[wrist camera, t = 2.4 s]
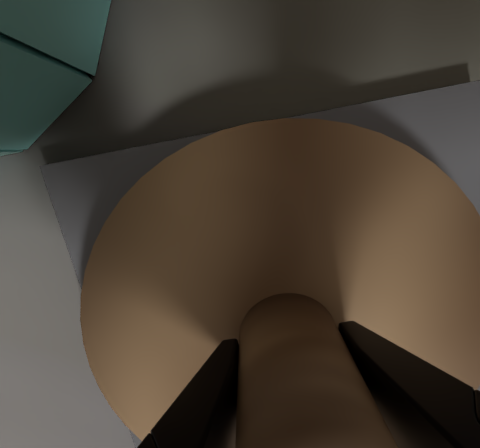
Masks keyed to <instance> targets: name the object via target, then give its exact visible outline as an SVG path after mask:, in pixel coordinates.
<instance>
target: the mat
mask: <svg viewBox="0 0 480 448" xmlns="http://www.w3.org/2000/svg"><path fill="white" fill-rule="evenodd" d="M288 118H305V119H323V120H329V121H336V122H342V123H349V124H353V125H356V126H359V127H362V128H366V129H369V130H372V131H376V132H379V133H382V134H384V135H386V136H388V137H390V138H392V139H394V140H396V141H399V142H401V143H403V144H405V145H407V146H409V147H411V148H412V149H414V150H415V151H417V152H418V153H420V154H421V155H423V156H424V157H426V158H427V159H429V160H430V161H432V162H433V163H434V164H436V165H437V166H438V167H439V168H440V169H441V170H442V171H443V172H444V173H445V174H447V175H448V176H449V177H450V178H451V179H452V180H453V181H454V182H455V183H456V184H457V185H458V186H459V188H460V189H461V190H462V191H463V193H464V194H465V195H466V196H467V198H468V199H469V200H470V201H471V203H472V204H473V205H474V207H475V208H476V210H477V212H478V214H479V215H480V80H478V81H473V82H468V83H463V84H458V85H453V86H448V87H442V88H437V89H432V90H427V91H422V92H417V93H412V94H406V95H401V96H396V97H391V98H386V99H381V100H376V101H370V102H365V103H360V104H355V105H350V106H345V107H340V108H334V109H329V110H324V111H319V112H314V113H309V114H304V115H299V116H293V117H288ZM216 132H219V131H216ZM216 132H211V133H206V134H201V135H196V136H191V137H185V138H180V139H175V140H170V141H165V142H160V143H155V144H149V145H144V146H139V147H134V148H129V149H124V150H119V151H114V152H108V153H103V154H98V155H93V156H88V157H83V158H78V159H72V160H67V161H62V162H57V163H52V164H47V165H42V166H40V169H41V172H42V175H43V178H44V181H45V184H46V187H47V190H48V193H49V196H50V199H51V202H52V204H53V207H54V210H55V213H56V216H57V219H58V222H59V225H60V228H61V231H62V234H63V237H64V240H65V243H66V245H67V248H68V251H69V254H70V257H71V260H72V263H73V266H74V269H75V272H76V275H77V278H78V281H79V284H80V287H81V289H82V286H83V280H84V274H85V269H86V266H87V263H88V260H89V257H90V254H91V251H92V248H93V245H94V243H95V241H96V239H97V237H98V235H99V233H100V231H101V229H102V227H103V225H104V223H105V221H106V220H107V218H108V217H109V215H110V214H111V213H112V211H113V210H114V208H115V207H116V205H117V204H118V203H119V201H120V200H121V198H122V197H123V196H124V195H125V194H126V193H127V192H128V191H129V190H130V189H131V188H132V187H133V186H134V185H135V183H136V182H137V181H138V180H139V179H140V178H141V177H142V176H144V175H145V174H146V173H147V172H149V171H150V170H151V169H152V168H154V167H155V166H156V165H157V164H159V163H160V162H161V161H162V160H164V159H165V158H167V157H168V156H170V155H172V154H173V153H175V152H177V151H179V150H180V149H182V148H184V147H185V146H187V145H189V144H190V143H192V142H195V141H197V140H199V139H202V138H204V137H207V136H209V135H211V134H214V133H216ZM477 390H479V391H480V386H479V387H478V389H477ZM129 430H130V429H129ZM130 433H131V436H132V439H133V442H134V445H135V448H137V447H138V446H139V444H140V443H141V442H142V441H141V440H140V439H139V438H138V437H137V436H136V435H135V434H134V433H133V432H132V431H131V430H130Z"/></svg>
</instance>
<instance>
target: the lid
mask: <svg viewBox="0 0 480 448" xmlns="http://www.w3.org/2000/svg"><path fill="white" fill-rule="evenodd" d="M80 321H81V328H82V336H83V343H84V347H85V351H86V354H87V358H88V362H89V365H90V368H91V370H92V372H93V375H94V377H95V379H96V382H97V384H98V386H99V388H100V390H101V391H102V393H103V395H104V396H105V398H106V400H107V401H108V403H109V405H110V406H111V408H112V409H113V410H114V412H115V413H116V414H117V415H118V417H119V418H120V419H121V420H122V422H123V423H124V424H125V425H126V426H127V427H128V428H129V429H130V430H131V431H132V432H133V433H134V434H135V435H136V436H137V437H138V438H139V439H140V440H141V441H143V439H144V438H145V437H146V436H147V434H148V433H151V429H152V428H153V427H154V426H155V424H156V423H157V422H158V421H159V419H160V418H161V417H162V416H163V414H164V413H165V412H166V411H167V409H168V408H169V407H170V406H171V404H172V403H173V402H174V401H175V399H176V398H177V397H178V395H179V394H180V393H181V392H182V390H183V389H184V388H185V387H186V385H187V384H188V383H189V382H190V380H191V379H192V378H193V377H194V375H195V374H196V373H197V372H198V370H199V369H200V368H201V367H202V365H203V364H204V363H205V362H206V360H207V359H208V358H209V357H210V355H211V354H212V353H213V351H214V350H215V349H216V348H217V346H218V345H219V344H220V343H221V341H223V340H226V339H233V338H236V339H237V340H238V344H239V355H238V384H237V413H236V441H235V448H398V446H397V444H396V442H395V440H394V438H393V436H392V434H391V432H390V430H389V428H388V426H387V424H386V422H385V420H384V418H383V416H382V414H381V412H380V410H379V408H378V407H377V405H376V403H375V401H374V399H373V397H372V395H371V393H370V391H369V389H368V387H367V385H366V383H365V381H364V379H363V377H362V375H361V373H360V371H359V369H358V367H357V365H356V363H355V361H354V359H353V357H352V355H351V353H350V351H349V349H348V347H347V345H346V343H345V341H344V339H343V337H342V336H341V334H340V332H339V330H338V324H339V323H340V322H345V321H355V322H357V323H359V324H360V325H362V326H364V327H366V328H368V329H369V330H371V331H373V332H375V333H377V334H378V335H380V336H382V337H384V338H386V339H387V340H389V341H391V342H393V343H394V344H396V345H398V346H400V347H402V348H403V349H405V350H407V351H409V352H411V353H412V354H414V355H416V356H418V357H419V358H421V359H423V360H425V361H427V362H428V363H430V364H432V365H434V366H436V367H437V368H439V369H441V370H443V371H445V372H446V373H448V374H450V375H452V376H453V377H455V378H457V379H459V380H461V381H462V382H464V383H466V384H468V385H470V386H471V387H473V388H474V390H477V389H478V387H479V386H480V215H479V214H478V212H477V210H476V208H475V207H474V205H473V204H472V203H471V201H470V200H469V199H468V198H467V196H466V195H465V194H464V193H463V191H462V190H461V189H460V188H459V186H458V185H457V184H456V183H455V182H454V181H453V180H452V179H451V178H450V177H449V176H448V175H447V174H445V173H444V172H443V171H442V170H441V169H440V168H439V167H438V166H437V165H436V164H434V163H433V162H432V161H430V160H429V159H427V158H426V157H424V156H423V155H421V154H420V153H418V152H417V151H415V150H414V149H412V148H411V147H409V146H407V145H405V144H403V143H401V142H399V141H396V140H394V139H392V138H390V137H388V136H386V135H384V134H382V133H379V132H376V131H372V130H369V129H366V128H362V127H359V126H356V125H353V124H349V123H342V122H336V121H329V120H323V119H305V118H282V119H274V120H266V121H258V122H251V123H247V124H244V125H240V126H236V127H232V128H229V129H225V130H221V131H219V132H216V133H214V134H211V135H209V136H207V137H204V138H202V139H199V140H197V141H195V142H192V143H190V144H189V145H187V146H185V147H184V148H182V149H180V150H179V151H177V152H175V153H173V154H172V155H170V156H168V157H167V158H165V159H164V160H162V161H161V162H160V163H159V164H157V165H156V166H155V167H154V168H152V169H151V170H150V171H149V172H147V173H146V174H145V175H144V176H142V177H141V178H140V179H139V180H138V181H137V182H136V183H135V185H134V186H133V187H132V188H131V189H130V190H129V191H128V192H127V193H126V194H125V195H124V196H123V197H122V198H121V200H120V201H119V203H118V204H117V205H116V207H115V208H114V210H113V211H112V213H111V214H110V215H109V217H108V218H107V220H106V221H105V223H104V225H103V227H102V229H101V231H100V233H99V235H98V237H97V239H96V241H95V243H94V245H93V248H92V251H91V254H90V257H89V260H88V263H87V266H86V269H85V274H84V280H83V286H82V292H81V317H80Z"/></svg>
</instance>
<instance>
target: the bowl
mask: <svg viewBox="0 0 480 448" xmlns="http://www.w3.org/2000/svg"><path fill="white" fill-rule="evenodd" d="M110 4H111V0H0V156H3V155H9V154H14V153H19V152H23V150H22V149H28V148H29V147H30V146H31V145H32V144H33V143H34V142H35V141H36V140H37V139H38V137H39V136H40V135H41V134H42V133H43V132H44V131H45V130H46V129H47V128H48V127H49V126H50V125H51V124H52V123H53V122H54V121H55V120H56V119H57V118H58V117H59V115H60V114H61V113H62V112H63V111H64V110H65V109H66V108H67V107H68V106H69V105H70V104H71V103H72V102H73V101H74V100H75V99H76V98H77V97H78V96H79V95H80V93H81V92H82V91H83V90H84V89H85V88H86V87H87V86H88V85H89V84H90V83H91V82H92V80H91V78H90V77H89V76H88V75H87V74H86V73H88V74H91V75H93V76H95V74H96V69H97V65H98V60H99V55H100V50H101V46H102V41H103V36H104V32H105V27H106V22H107V18H108V13H109V8H110Z"/></svg>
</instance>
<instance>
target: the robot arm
mask: <svg viewBox="0 0 480 448" xmlns="http://www.w3.org/2000/svg"><path fill="white" fill-rule="evenodd" d="M338 330H339V332H340V334H341V336H342V337H343V339H344V341H345V343H346V345H347V347H348V349H349V351H350V353H351V355H352V357H353V359H354V361H355V363H356V365H357V367H358V369H359V371H360V373H361V375H362V377H363V379H364V381H365V383H366V385H367V387H368V389H369V391H370V393H371V395H372V397H373V399H374V401H375V403H376V405H377V407H378V408H379V410H380V412H381V414H382V416H383V418H384V420H385V422H386V424H387V426H388V428H389V430H390V432H391V434H392V436H393V438H394V440H395V442H396V444H397V446H398V448H480V391H479V390H474V388H473V387H471V386H470V385H468V384H466V383H464V382H462V381H461V380H459V379H457V378H455V377H453V376H452V375H450V374H448V373H446V372H445V371H443V370H441V369H439V368H437V367H436V366H434V365H432V364H430V363H428V362H427V361H425V360H423V359H421V358H419V357H418V356H416V355H414V354H412V353H411V352H409V351H407V350H405V349H403V348H402V347H400V346H398V345H396V344H394V343H393V342H391V341H389V340H387V339H386V338H384V337H382V336H380V335H378V334H377V333H375V332H373V331H371V330H369V329H368V328H366V327H364V326H362V325H360V324H359V323H357V322H355V321H345V322H340V323H339V324H338ZM238 355H239V344H238V340H237V339H236V338H233V339H226V340H223V341H221V343H220V344H219V345H218V346H217V348H216V349H215V350H214V351H213V353H212V354H211V355H210V357H209V358H208V359H207V360H206V362H205V363H204V364H203V365H202V367H201V368H200V369H199V370H198V372H197V373H196V374H195V375H194V377H193V378H192V379H191V380H190V382H189V383H188V384H187V385H186V387H185V388H184V389H183V390H182V392H181V393H180V394H179V395H178V397H177V398H176V399H175V401H174V402H173V403H172V404H171V406H170V407H169V408H168V409H167V411H166V412H165V413H164V414H163V416H162V417H161V418H160V419H159V421H158V422H157V423H156V424H155V426H154V427H153V428H152V429H151V433H148V434H147V436H146V437H145V438H144V439H143V441H142V442H141V443H140V444H139V446H138V447H137V448H235V441H236V413H237V384H238Z"/></svg>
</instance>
